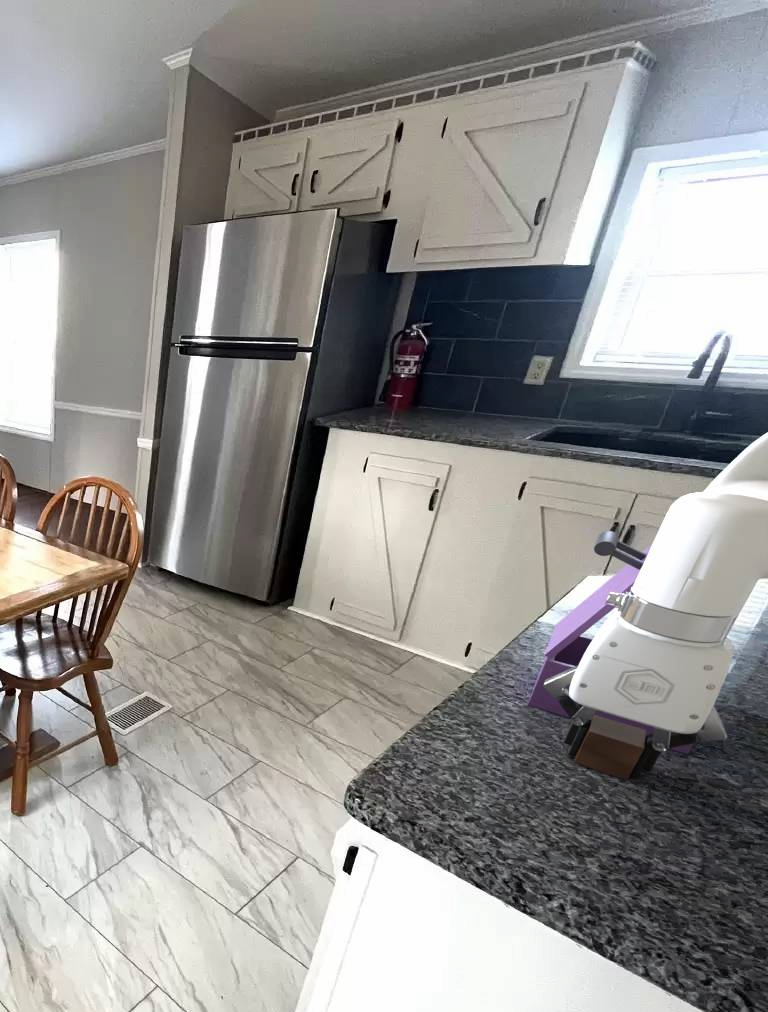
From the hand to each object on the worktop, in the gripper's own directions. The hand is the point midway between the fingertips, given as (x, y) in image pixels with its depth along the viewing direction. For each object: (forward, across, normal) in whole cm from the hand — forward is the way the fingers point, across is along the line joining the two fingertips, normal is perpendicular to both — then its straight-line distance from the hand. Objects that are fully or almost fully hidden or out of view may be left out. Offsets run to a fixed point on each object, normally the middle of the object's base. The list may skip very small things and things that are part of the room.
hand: (602, 759), depth 71 cm
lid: (-14, -4, +14) cm, 20 cm away
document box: (0, 0, +14) cm, 14 cm away
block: (0, 0, 0) cm, 0 cm away
